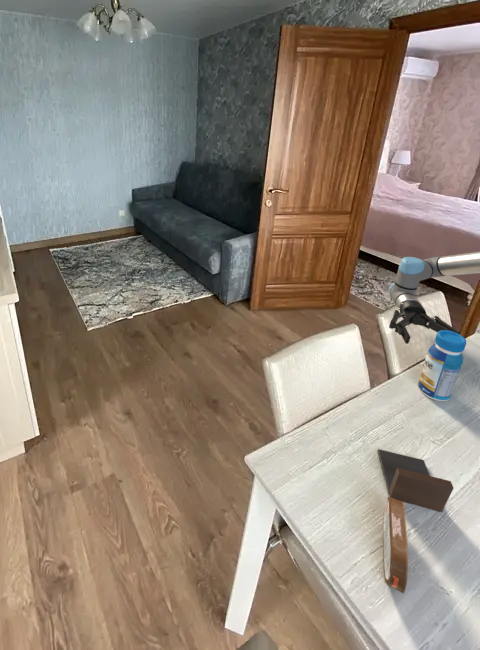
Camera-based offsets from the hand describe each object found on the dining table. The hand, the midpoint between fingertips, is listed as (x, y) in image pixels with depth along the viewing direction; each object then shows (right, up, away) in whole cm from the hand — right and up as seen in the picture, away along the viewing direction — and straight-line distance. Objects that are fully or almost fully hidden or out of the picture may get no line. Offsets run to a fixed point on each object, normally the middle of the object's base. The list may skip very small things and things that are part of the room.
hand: (432, 344), depth 108 cm
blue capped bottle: (-3, -13, -4) cm, 14 cm away
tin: (-39, -29, -41) cm, 64 cm away
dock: (-27, -23, -28) cm, 45 cm away
